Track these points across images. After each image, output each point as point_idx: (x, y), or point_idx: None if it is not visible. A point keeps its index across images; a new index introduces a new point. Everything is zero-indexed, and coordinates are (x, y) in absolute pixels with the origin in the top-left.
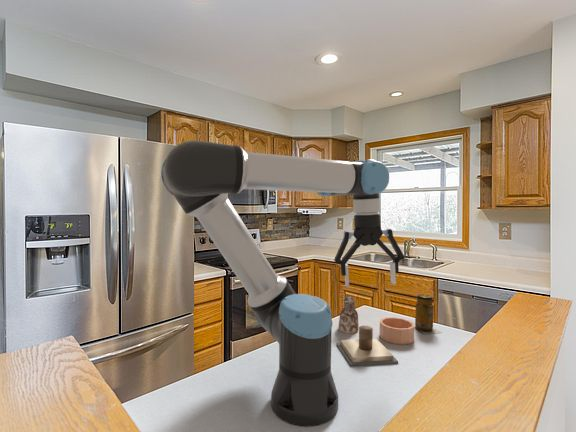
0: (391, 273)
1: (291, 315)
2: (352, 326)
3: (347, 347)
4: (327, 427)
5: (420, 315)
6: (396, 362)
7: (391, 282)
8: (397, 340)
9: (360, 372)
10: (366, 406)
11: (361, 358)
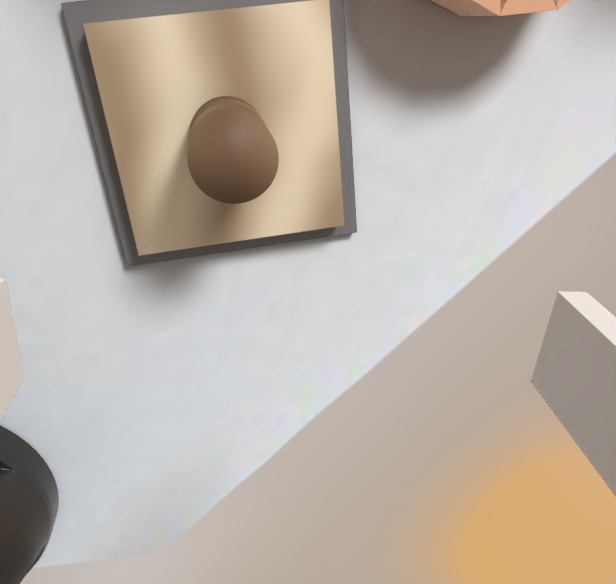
0: (611, 411)
1: None
2: None
3: (121, 134)
4: None
5: None
6: (347, 232)
7: (552, 326)
8: (453, 8)
9: (165, 308)
10: (150, 487)
11: (182, 247)
